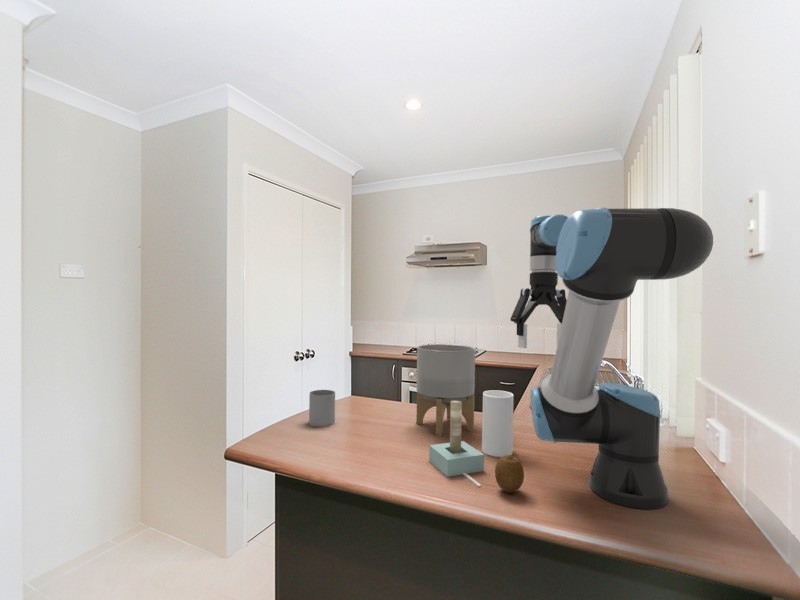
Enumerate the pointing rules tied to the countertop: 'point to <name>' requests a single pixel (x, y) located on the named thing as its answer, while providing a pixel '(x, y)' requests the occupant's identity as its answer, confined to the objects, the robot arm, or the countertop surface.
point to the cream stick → (472, 479)
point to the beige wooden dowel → (455, 427)
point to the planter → (445, 381)
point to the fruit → (509, 473)
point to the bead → (456, 459)
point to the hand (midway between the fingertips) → (542, 347)
